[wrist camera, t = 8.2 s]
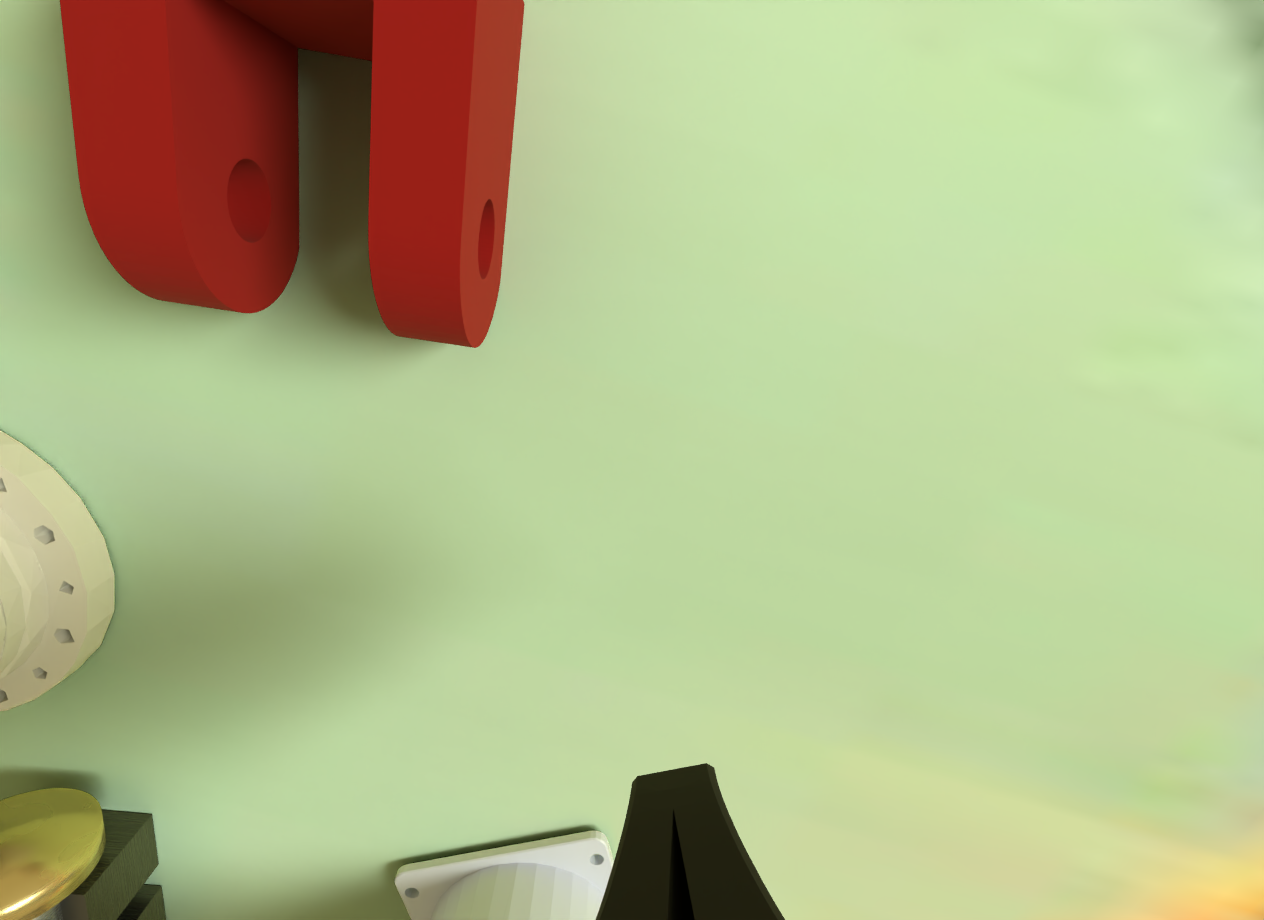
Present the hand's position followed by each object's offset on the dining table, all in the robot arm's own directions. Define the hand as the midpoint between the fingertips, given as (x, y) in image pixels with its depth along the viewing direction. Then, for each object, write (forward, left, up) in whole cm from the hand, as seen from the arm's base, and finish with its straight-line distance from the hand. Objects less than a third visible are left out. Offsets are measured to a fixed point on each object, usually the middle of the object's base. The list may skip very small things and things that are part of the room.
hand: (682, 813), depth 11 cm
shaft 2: (-7, +22, -9) cm, 25 cm away
